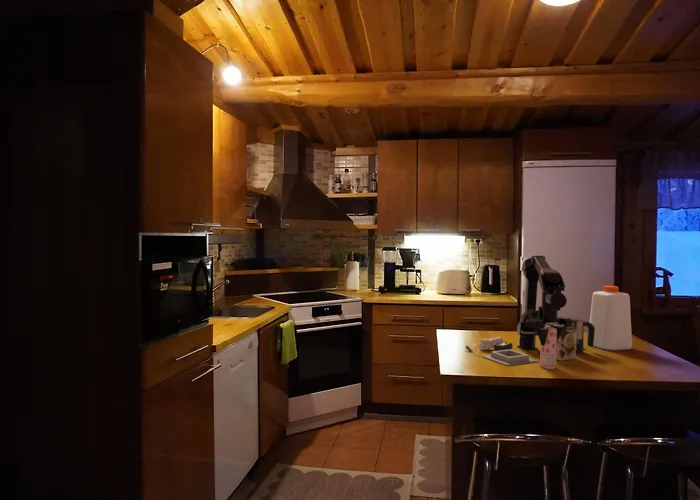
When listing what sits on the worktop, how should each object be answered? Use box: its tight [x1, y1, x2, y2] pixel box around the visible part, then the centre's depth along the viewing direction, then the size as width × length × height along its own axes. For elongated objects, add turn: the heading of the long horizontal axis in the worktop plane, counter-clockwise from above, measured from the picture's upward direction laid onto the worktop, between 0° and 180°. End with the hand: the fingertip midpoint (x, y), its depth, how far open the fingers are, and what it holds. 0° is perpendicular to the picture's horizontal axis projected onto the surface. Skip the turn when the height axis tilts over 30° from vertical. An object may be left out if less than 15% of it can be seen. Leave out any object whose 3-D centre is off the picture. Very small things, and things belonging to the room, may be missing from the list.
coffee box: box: [551, 319, 577, 361], centre depth 192 cm, size 9×6×16 cm
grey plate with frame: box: [481, 349, 539, 367], centre depth 188 cm, size 16×14×2 cm
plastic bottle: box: [589, 285, 633, 352], centre depth 213 cm, size 15×15×28 cm
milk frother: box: [565, 316, 595, 355], centre depth 207 cm, size 14×16×15 cm
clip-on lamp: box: [464, 336, 514, 354], centre depth 201 cm, size 12×6×18 cm
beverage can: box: [539, 326, 557, 370], centre depth 178 cm, size 6×6×15 cm
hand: (548, 344), depth 178 cm, fingers closed on beverage can, 6 cm apart
